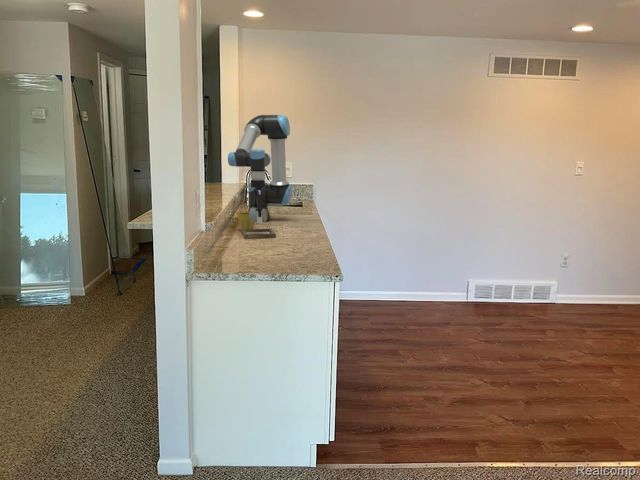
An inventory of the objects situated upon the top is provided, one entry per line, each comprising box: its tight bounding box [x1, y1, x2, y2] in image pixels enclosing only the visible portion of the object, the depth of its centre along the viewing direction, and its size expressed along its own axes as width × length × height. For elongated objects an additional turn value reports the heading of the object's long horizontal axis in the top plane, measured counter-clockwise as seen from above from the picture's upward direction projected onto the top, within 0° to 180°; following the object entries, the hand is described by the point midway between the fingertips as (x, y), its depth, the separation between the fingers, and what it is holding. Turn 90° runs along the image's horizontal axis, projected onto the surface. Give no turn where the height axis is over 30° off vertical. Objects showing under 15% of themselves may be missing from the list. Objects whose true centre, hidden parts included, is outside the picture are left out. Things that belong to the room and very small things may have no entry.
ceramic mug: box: [249, 207, 268, 223], centre depth 273 cm, size 11×8×8 cm
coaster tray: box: [241, 228, 277, 240], centre depth 274 cm, size 16×16×2 cm
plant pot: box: [237, 211, 256, 232], centre depth 289 cm, size 10×10×10 cm
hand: (258, 221), depth 273 cm, fingers closed on ceramic mug, 11 cm apart
